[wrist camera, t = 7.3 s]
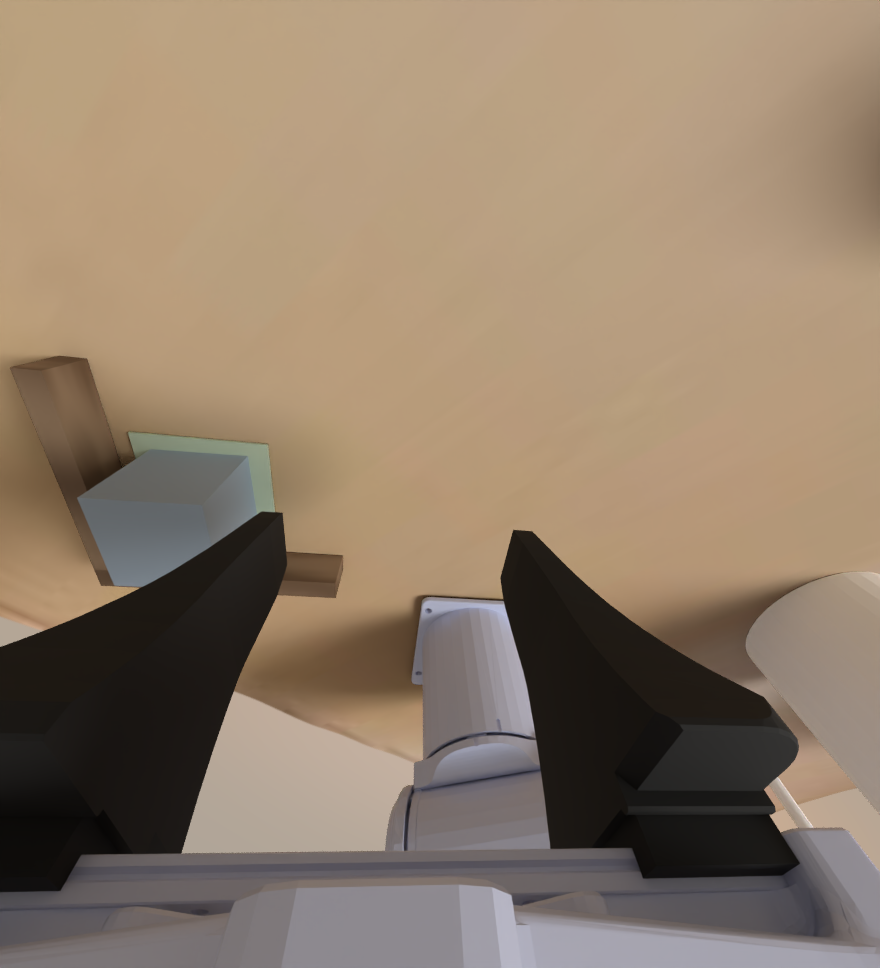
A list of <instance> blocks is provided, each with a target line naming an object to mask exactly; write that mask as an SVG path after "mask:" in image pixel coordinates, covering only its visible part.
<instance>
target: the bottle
mask: <svg viewBox="0 0 880 968" xmlns="http://www.w3.org/2000/svg"><path fill="white" fill-rule="evenodd" d="M745 647H746V651H747V654H748V656H749V657H750V659H751V660H752V661H753V662H754V664H755V665H756V666H757V667H758V668H759V670H760V671H761V672H762V673H763V674H764V676H765V677H766V678H767V679H768V681H769V682H770V683H771V684H772V685H773V687H774V688H775V689H776V690H777V691H778V693H779V694H780V695H781V696H782V697H783V699H784V700H785V701H786V702H787V703H788V705H789V706H790V707H791V708H792V710H793V711H794V712H795V713H796V714H797V716H798V717H799V718H800V719H801V720H802V722H803V723H804V724H805V725H806V726H807V728H808V729H809V730H810V731H811V733H812V734H813V735H814V736H815V737H816V739H817V740H818V741H819V742H820V743H821V745H822V746H823V747H824V748H825V749H826V751H827V752H828V753H829V754H830V755H831V757H832V758H833V759H834V760H835V762H836V763H837V764H838V765H839V766H840V768H841V769H842V770H843V771H844V772H845V774H846V775H847V776H848V777H849V778H850V780H851V781H852V782H853V783H854V784H855V786H856V787H857V788H858V789H859V791H860V792H861V793H862V794H863V795H864V797H865V798H866V799H867V800H868V801H869V803H870V804H871V805H872V806H873V807H874V809H875V810H876V811H877V812H878V813H879V815H880V574H877V573H873V572H861V571H855V572H846V573H839V574H835V575H831V576H827V577H823V578H821V579H818V580H815V581H812V582H810V583H807V584H805V585H803V586H801V587H799V588H797V589H795V590H793V591H791V592H790V593H788V594H786V595H785V596H783V597H782V598H780V599H778V600H777V601H776V602H775V603H773V604H772V605H771V606H770V607H768V608H767V609H766V610H765V611H764V612H763V613H762V614H761V615H760V616H759V617H758V618H757V620H756V621H755V622H754V624H753V625H752V627H751V628H750V630H749V633H748V635H747V637H746V645H745Z"/></svg>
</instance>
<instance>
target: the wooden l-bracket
mask: <svg viewBox="0 0 880 968" xmlns="http://www.w3.org/2000/svg"><path fill="white" fill-rule="evenodd" d="M10 370H11V372H12V374H13V377H14V379H15V381H16V384H17V386H18V389H19V391H20V393H21V396H22V398H23V401H24V403H25V405H26V408H27V410H28V412H29V415H30V417H31V420H32V422H33V424H34V427H35V429H36V432H37V434H38V436H39V439H40V441H41V443H42V446H43V448H44V451H45V453H46V455H47V458H48V460H49V463H50V465H51V467H52V470H53V472H54V475H55V477H56V479H57V482H58V484H59V486H60V489H61V491H62V494H63V496H64V498H65V501H66V503H67V506H68V508H69V510H70V513H71V515H72V517H73V520H74V522H75V525H76V527H77V529H78V532H79V534H80V537H81V539H82V541H83V544H84V546H85V548H86V551H87V553H88V556H89V558H90V560H91V563H92V565H93V568H94V570H95V572H96V575H97V577H98V580H99V582H100V584H101V586H114V584H113V581H112V579H111V577H110V574H109V572H108V569H107V567H106V565H105V562H104V560H103V558H102V555H101V553H100V551H99V548H98V546H97V544H96V541H95V539H94V537H93V534H92V532H91V529H90V527H89V525H88V522H87V520H86V518H85V515H84V513H83V511H82V508H81V506H80V504H79V501H78V499H77V498H78V497H79V496H81V495H82V494H84V493H85V492H87V491H88V490H90V489H91V488H93V487H94V486H96V485H97V484H99V483H100V482H102V481H103V480H105V479H106V478H108V477H109V476H111V475H112V474H114V473H116V472H117V471H119V470H120V469H122V467H121V464H120V461H119V458H118V455H117V452H116V448H115V445H114V442H113V439H112V436H111V433H110V430H109V427H108V423H107V420H106V417H105V414H104V411H103V408H102V405H101V401H100V398H99V395H98V392H97V389H96V386H95V383H94V379H93V376H92V373H91V370H90V367H89V364H88V361H87V359H84V358H74V357H65V356H57V357H53V358H48V359H44V360H40V361H36V362H31V363H27V364H23V365H19V366H14V367H10ZM286 556H287V567H286V571H285V574H284V577H283V580H282V583H281V586H280V589H279V592H278V595H288V596H307V597H326V598H336V595H337V591H338V587H339V583H340V579H341V575H342V571H343V556H338V555H323V554H307V553H292V552H286ZM119 587H133V586H119ZM138 588H141V587H138Z"/></svg>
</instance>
